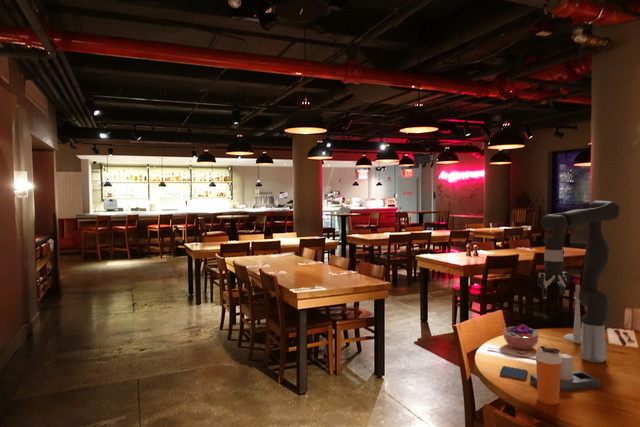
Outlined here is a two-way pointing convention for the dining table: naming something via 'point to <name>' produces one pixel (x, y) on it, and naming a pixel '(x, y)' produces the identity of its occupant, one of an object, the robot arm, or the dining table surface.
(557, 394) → the shaker bottle
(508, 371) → the woven mat
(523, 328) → the cell model
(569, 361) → the peg
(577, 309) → the candlestick
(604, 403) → the dining table surface
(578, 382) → the grey slotted frame
